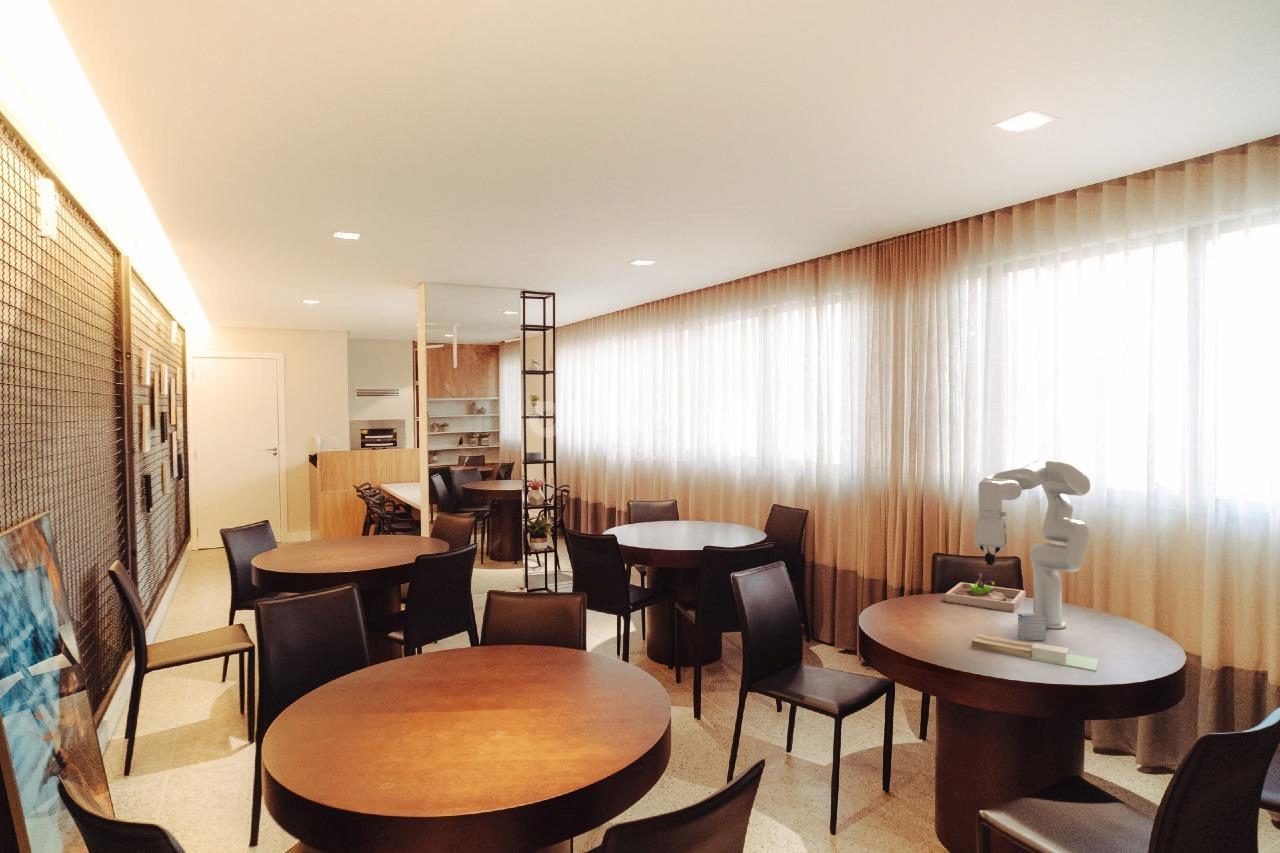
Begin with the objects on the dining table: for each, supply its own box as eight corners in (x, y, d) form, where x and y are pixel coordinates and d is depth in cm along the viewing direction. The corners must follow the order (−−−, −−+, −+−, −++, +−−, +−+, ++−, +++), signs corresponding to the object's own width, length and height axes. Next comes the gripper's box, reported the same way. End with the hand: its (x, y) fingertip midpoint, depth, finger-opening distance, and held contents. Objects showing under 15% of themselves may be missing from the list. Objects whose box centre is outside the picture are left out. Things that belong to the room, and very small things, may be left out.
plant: (1006, 596, 311) (1006, 572, 311) (1006, 607, 294) (1006, 581, 294) (957, 591, 320) (957, 567, 320) (954, 601, 303) (954, 576, 303)
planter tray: (960, 589, 323) (960, 582, 323) (1025, 598, 306) (1025, 590, 306) (945, 601, 302) (945, 593, 302) (1014, 612, 285) (1014, 603, 285)
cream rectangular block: (1034, 651, 236) (1034, 642, 236) (1068, 657, 229) (1068, 648, 229) (1031, 656, 231) (1031, 647, 231) (1066, 662, 225) (1066, 653, 225)
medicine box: (1040, 636, 253) (1040, 613, 252) (1046, 640, 248) (1046, 616, 248) (1017, 636, 253) (1017, 613, 253) (1023, 640, 249) (1023, 616, 249)
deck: (978, 640, 249) (978, 633, 249) (1034, 650, 238) (1034, 643, 238) (971, 647, 241) (971, 640, 241) (1029, 658, 230) (1029, 651, 230)
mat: (1036, 649, 238) (1036, 648, 238) (1099, 660, 227) (1099, 659, 227) (1031, 659, 229) (1031, 658, 229) (1095, 671, 218) (1095, 670, 218)
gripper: (1015, 515, 249) (1015, 565, 249) (970, 511, 258) (970, 560, 258) (1011, 517, 243) (1011, 569, 243) (965, 514, 252) (965, 563, 252)
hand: (990, 564), depth 251 cm, fingers closed
